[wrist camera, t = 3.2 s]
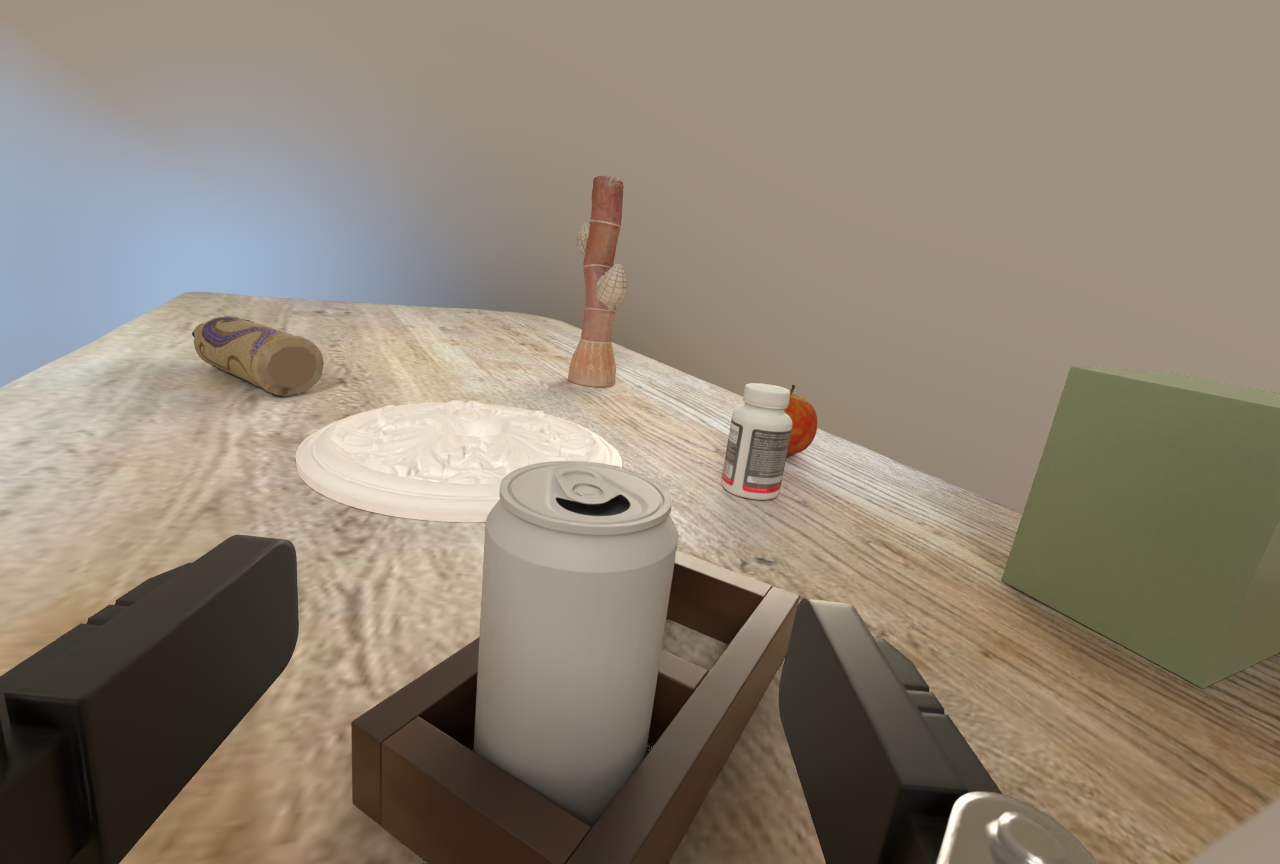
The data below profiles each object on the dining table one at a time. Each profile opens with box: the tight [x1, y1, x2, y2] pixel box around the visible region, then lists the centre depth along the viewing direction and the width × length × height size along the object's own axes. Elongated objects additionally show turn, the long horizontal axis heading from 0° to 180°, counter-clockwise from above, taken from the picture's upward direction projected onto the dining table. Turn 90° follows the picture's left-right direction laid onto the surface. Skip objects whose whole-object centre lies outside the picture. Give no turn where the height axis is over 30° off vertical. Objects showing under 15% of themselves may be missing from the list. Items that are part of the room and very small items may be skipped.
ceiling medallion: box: [296, 400, 622, 522], centre depth 55 cm, size 28×28×3 cm
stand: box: [1002, 366, 1280, 688], centre depth 40 cm, size 12×12×16 cm
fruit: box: [784, 385, 817, 456], centre depth 67 cm, size 7×7×8 cm
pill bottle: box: [722, 383, 792, 500], centre depth 55 cm, size 5×5×10 cm
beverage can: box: [473, 461, 678, 829], centre depth 21 cm, size 6×6×12 cm
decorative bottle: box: [192, 316, 324, 397], centre depth 73 cm, size 26×8×7 cm, turn 53°
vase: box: [568, 176, 627, 387], centre depth 91 cm, size 10×7×30 cm
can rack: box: [351, 551, 800, 864], centre depth 26 cm, size 10×19×4 cm, turn 150°
